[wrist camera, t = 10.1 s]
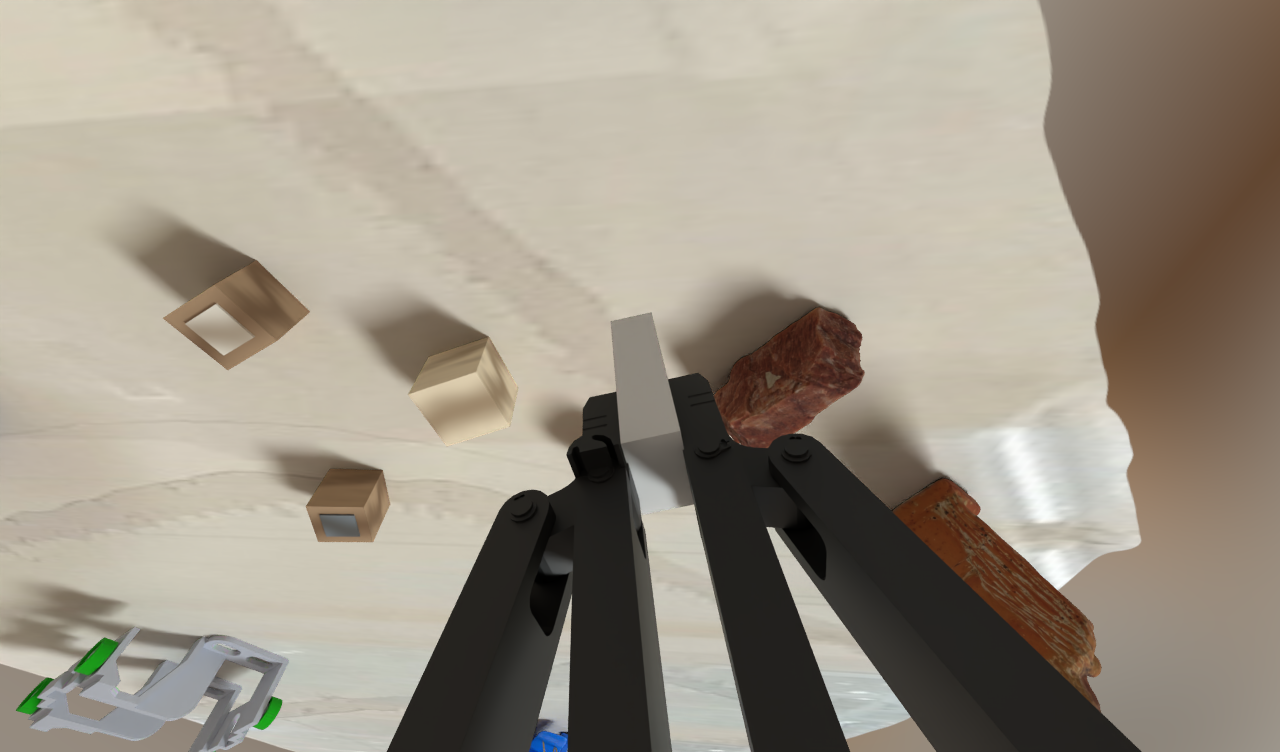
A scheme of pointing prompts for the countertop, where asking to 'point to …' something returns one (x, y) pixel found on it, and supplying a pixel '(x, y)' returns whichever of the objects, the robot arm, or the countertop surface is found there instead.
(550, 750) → the airplane toy
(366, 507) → the walnut block
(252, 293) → the walnut block
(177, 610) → the countertop surface
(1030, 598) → the sculpture
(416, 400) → the maple block
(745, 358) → the rock
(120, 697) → the bracket
